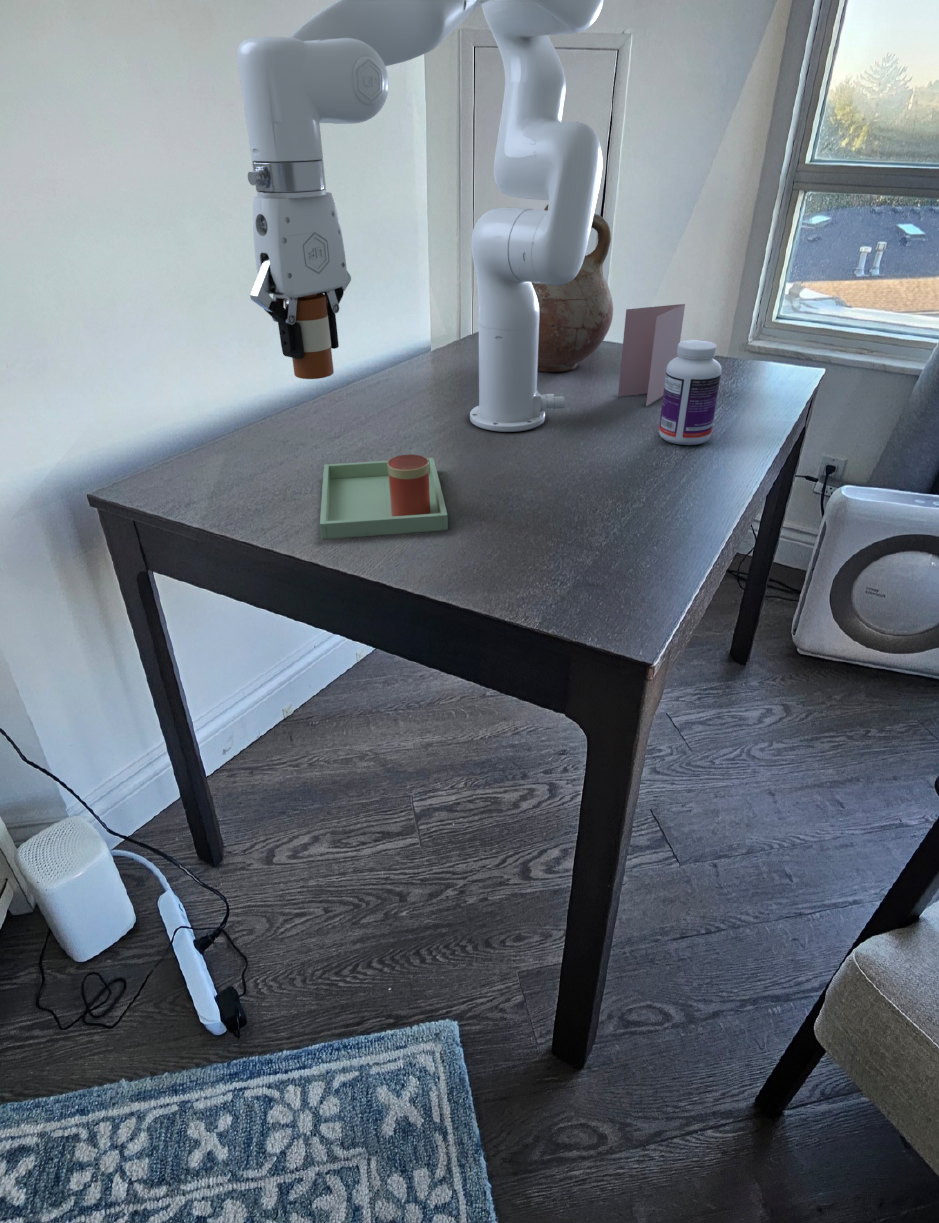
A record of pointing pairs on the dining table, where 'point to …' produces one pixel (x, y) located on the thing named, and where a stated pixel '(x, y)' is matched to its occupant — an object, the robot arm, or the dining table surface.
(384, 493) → the tray
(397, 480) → the tea tin
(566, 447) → the dining table surface
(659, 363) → the greeting card
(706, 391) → the pill bottle
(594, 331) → the jug
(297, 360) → the spice bottle
